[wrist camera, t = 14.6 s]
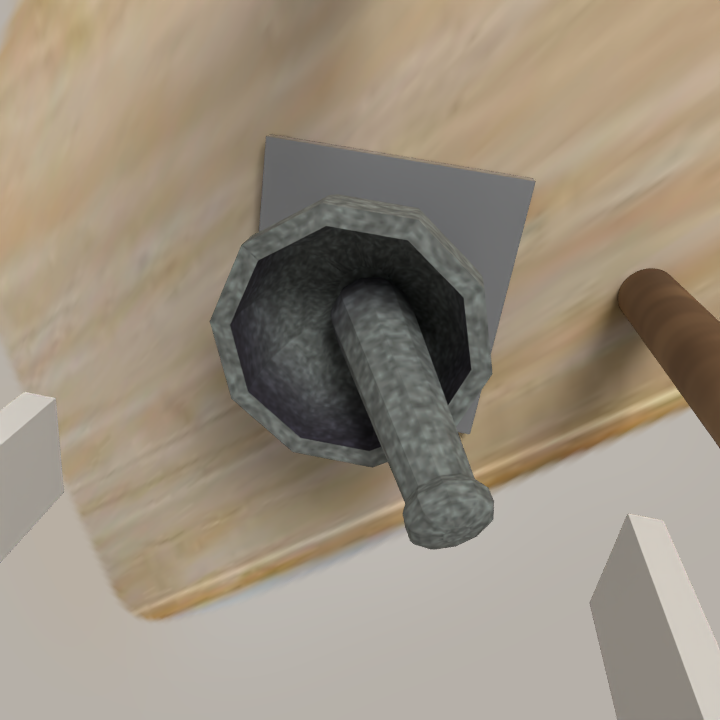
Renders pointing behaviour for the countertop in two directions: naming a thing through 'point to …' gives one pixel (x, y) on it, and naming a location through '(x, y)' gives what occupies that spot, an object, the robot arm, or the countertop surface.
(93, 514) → the countertop surface
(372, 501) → the countertop surface
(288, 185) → the slate pad
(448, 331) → the mortar and pestle
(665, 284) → the post
